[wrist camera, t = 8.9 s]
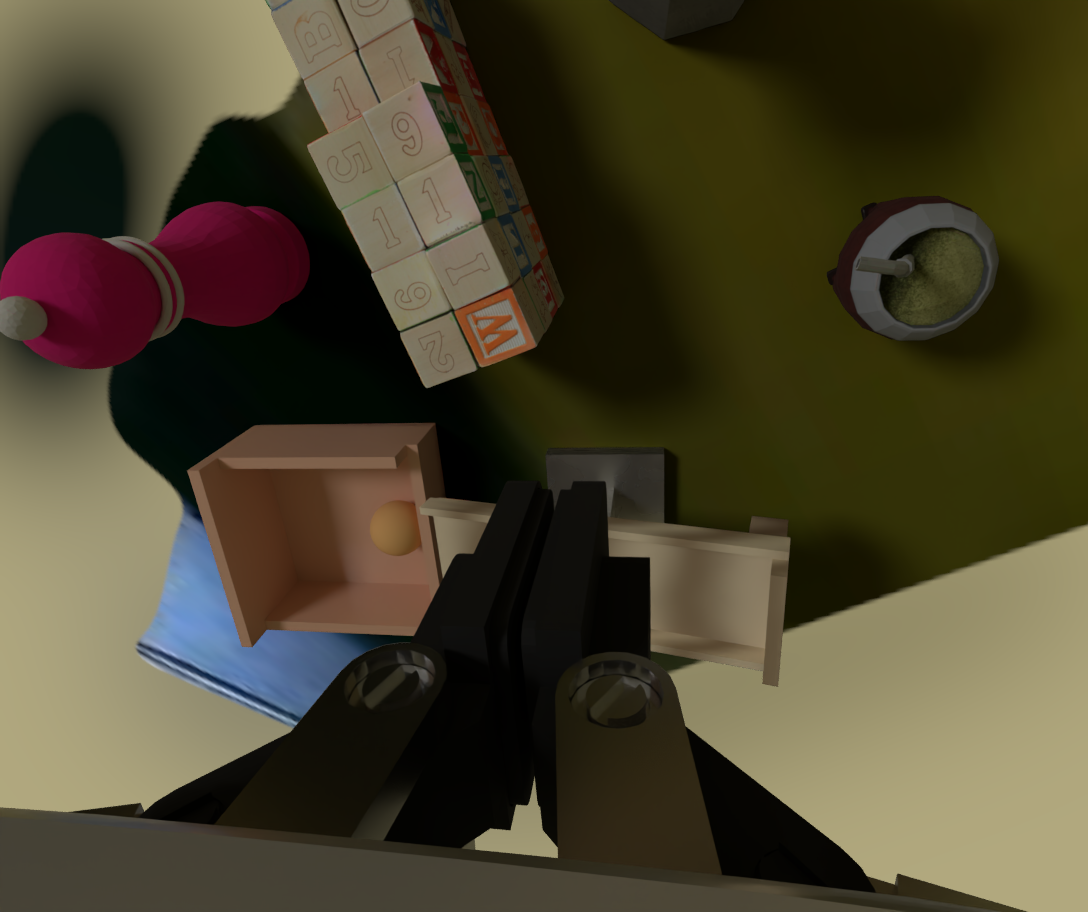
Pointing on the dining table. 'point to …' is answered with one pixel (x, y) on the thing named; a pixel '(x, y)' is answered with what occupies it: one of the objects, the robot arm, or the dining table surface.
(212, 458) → the pink open box
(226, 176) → the dining table surface
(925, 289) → the mate gourd
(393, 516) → the ball
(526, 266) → the stack of blocks
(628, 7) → the coffeepot
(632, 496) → the pivot stand
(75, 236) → the pepper mill
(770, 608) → the tray
